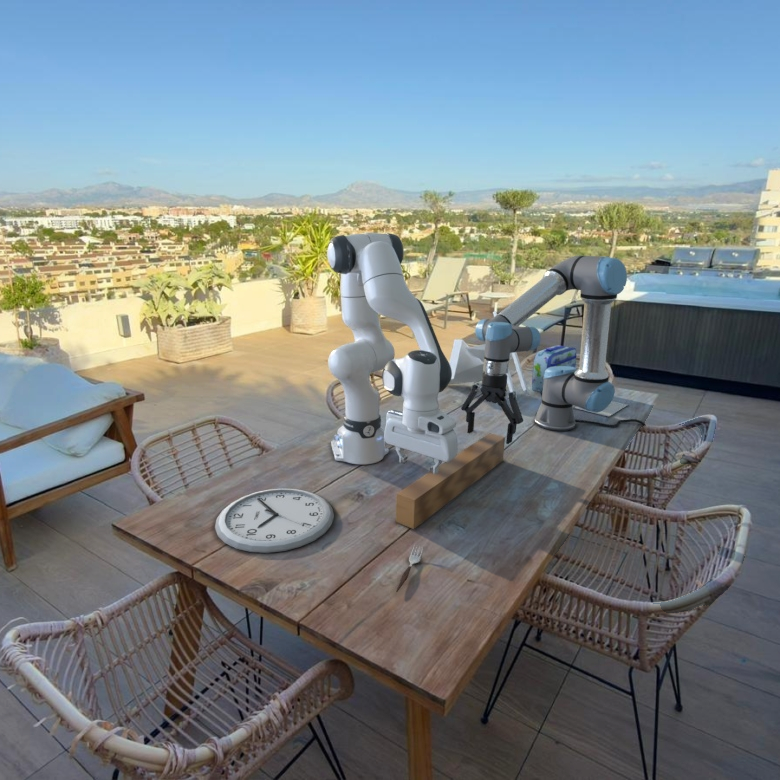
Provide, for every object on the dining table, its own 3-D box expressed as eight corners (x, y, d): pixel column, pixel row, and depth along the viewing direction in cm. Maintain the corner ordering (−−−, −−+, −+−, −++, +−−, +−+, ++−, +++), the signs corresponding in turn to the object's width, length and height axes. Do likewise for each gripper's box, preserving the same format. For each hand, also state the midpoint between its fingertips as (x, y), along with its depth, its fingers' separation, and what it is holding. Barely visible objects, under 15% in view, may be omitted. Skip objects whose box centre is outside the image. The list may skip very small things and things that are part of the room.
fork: (390, 592, 109) (390, 584, 108) (413, 550, 123) (413, 543, 123) (402, 595, 108) (402, 587, 107) (424, 552, 122) (424, 545, 122)
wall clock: (332, 544, 122) (200, 548, 120) (332, 550, 123) (201, 555, 120) (334, 484, 151) (228, 486, 148) (334, 489, 151) (228, 491, 149)
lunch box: (548, 398, 236) (553, 353, 229) (527, 393, 243) (531, 349, 237) (575, 387, 253) (581, 344, 247) (555, 382, 260) (560, 341, 254)
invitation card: (608, 416, 214) (573, 407, 224) (608, 416, 214) (573, 408, 224) (628, 404, 229) (594, 396, 238) (628, 405, 229) (594, 397, 238)
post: (487, 456, 175) (489, 433, 173) (503, 460, 172) (505, 437, 170) (395, 522, 135) (396, 493, 133) (413, 529, 132) (414, 500, 130)
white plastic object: (461, 429, 252) (437, 405, 227) (444, 352, 274) (420, 323, 250) (535, 404, 240) (518, 377, 215) (510, 326, 262) (492, 293, 237)
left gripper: (379, 411, 133) (378, 460, 137) (448, 430, 121) (445, 483, 126) (394, 404, 138) (393, 452, 142) (462, 422, 126) (458, 474, 130)
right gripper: (453, 368, 165) (449, 431, 171) (528, 383, 151) (521, 451, 157) (465, 364, 171) (460, 424, 177) (538, 378, 156) (531, 443, 163)
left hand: (418, 467), depth 134 cm, fingers open, 8 cm apart
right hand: (489, 437), depth 167 cm, fingers open, 13 cm apart
